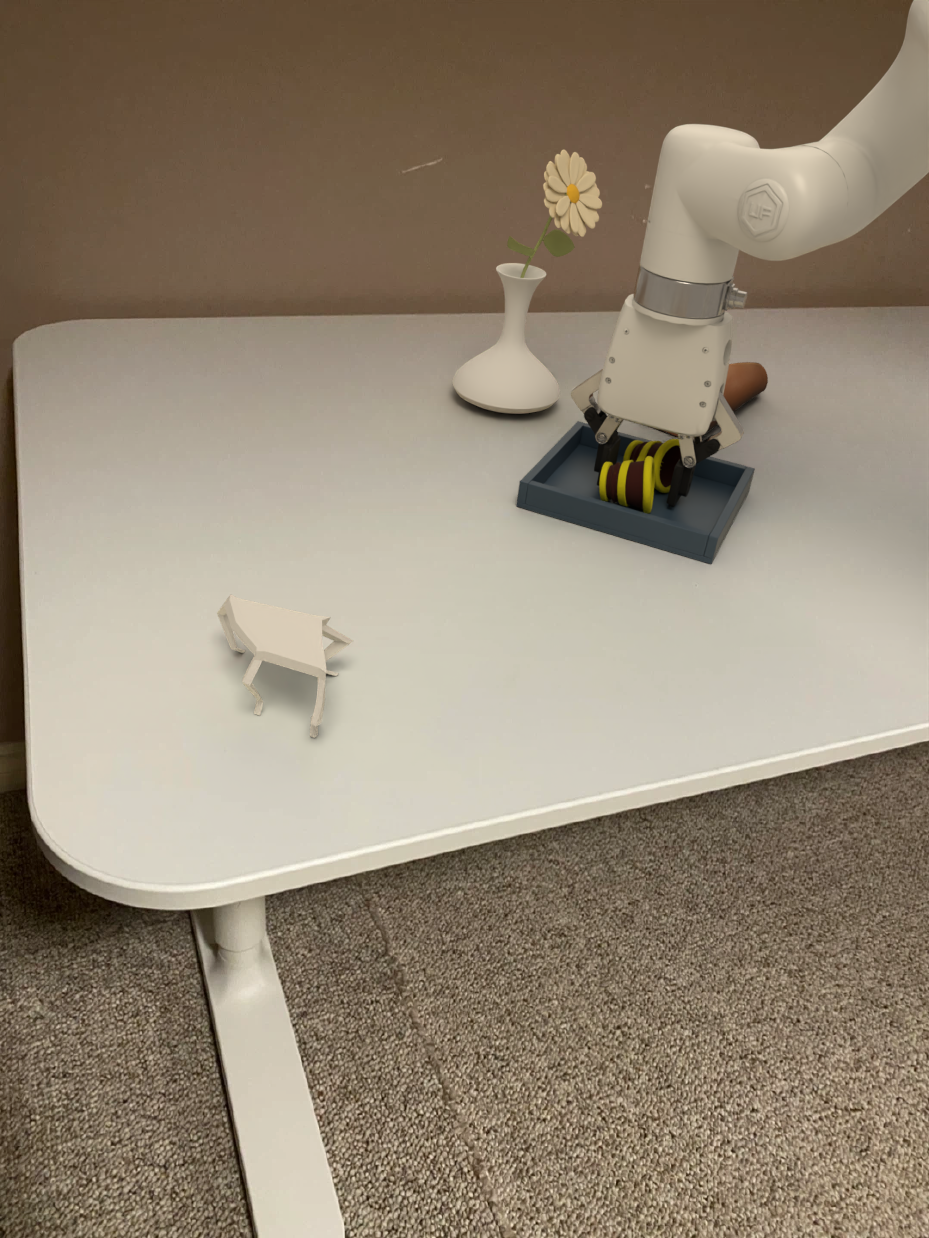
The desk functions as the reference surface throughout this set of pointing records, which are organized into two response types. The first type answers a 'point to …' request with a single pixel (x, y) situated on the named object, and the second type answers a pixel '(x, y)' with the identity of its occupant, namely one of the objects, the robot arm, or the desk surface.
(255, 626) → the origami figure
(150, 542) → the desk surface
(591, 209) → the flower in vase
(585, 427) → the tray
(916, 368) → the desk surface
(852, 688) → the desk surface
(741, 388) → the sunglasses case
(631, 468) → the opera glasses
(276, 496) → the desk surface
